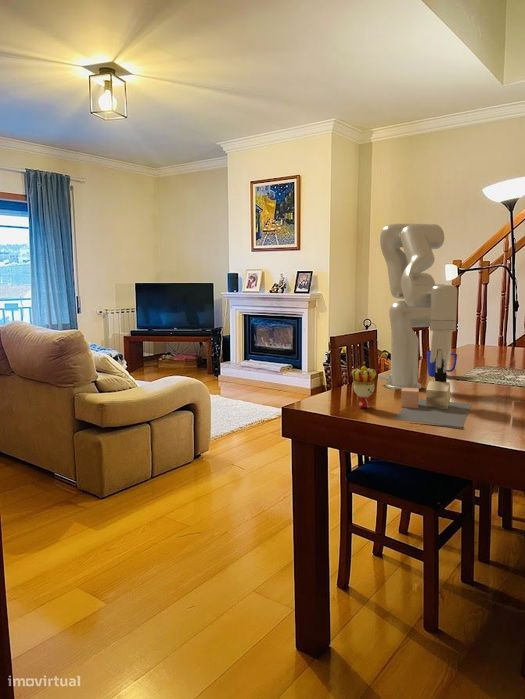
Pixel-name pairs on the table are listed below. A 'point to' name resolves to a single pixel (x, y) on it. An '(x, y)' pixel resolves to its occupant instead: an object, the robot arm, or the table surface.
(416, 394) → the terracotta block
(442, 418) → the mat
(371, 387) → the toy
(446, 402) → the maple block
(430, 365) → the mug
